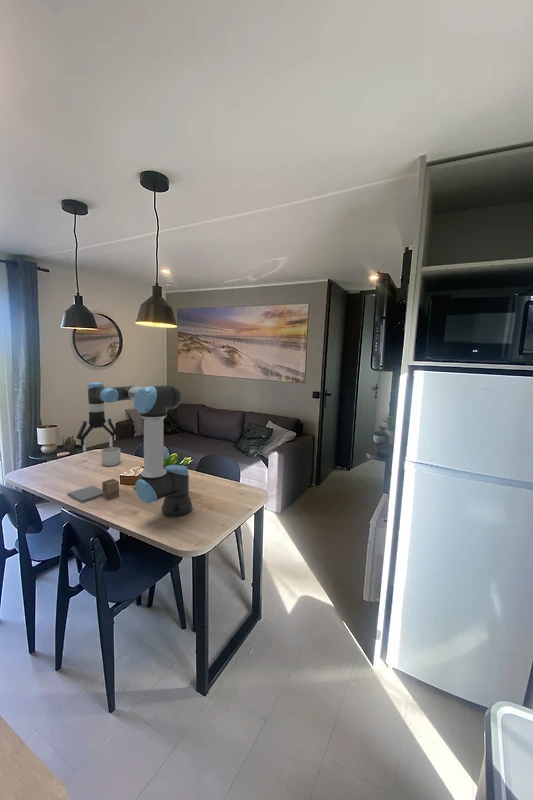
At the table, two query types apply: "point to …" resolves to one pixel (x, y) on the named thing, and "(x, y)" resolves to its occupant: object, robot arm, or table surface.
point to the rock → (138, 479)
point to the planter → (110, 456)
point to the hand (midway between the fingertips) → (98, 448)
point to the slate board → (86, 494)
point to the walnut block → (110, 489)
